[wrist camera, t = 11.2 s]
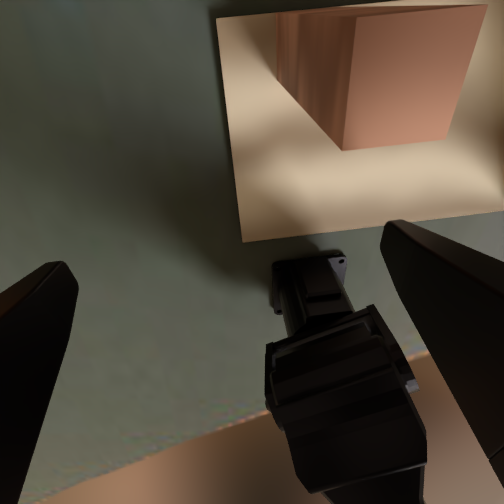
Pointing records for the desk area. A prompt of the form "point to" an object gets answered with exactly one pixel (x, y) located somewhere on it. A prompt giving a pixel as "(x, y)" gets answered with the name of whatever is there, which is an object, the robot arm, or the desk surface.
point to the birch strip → (359, 177)
